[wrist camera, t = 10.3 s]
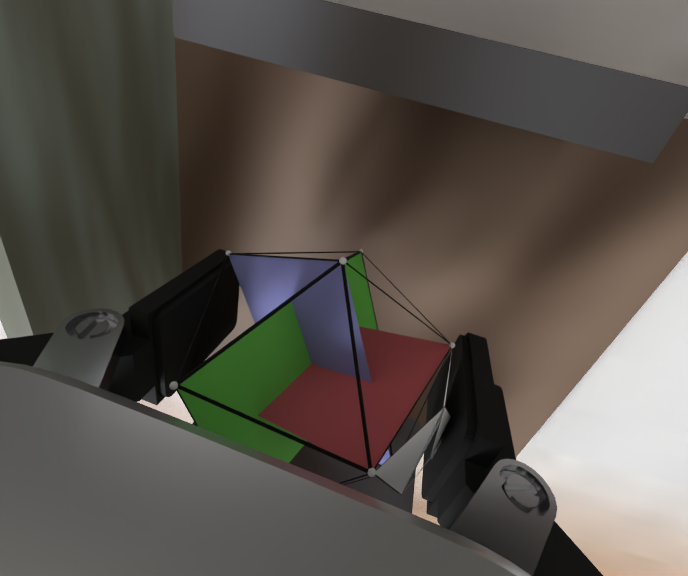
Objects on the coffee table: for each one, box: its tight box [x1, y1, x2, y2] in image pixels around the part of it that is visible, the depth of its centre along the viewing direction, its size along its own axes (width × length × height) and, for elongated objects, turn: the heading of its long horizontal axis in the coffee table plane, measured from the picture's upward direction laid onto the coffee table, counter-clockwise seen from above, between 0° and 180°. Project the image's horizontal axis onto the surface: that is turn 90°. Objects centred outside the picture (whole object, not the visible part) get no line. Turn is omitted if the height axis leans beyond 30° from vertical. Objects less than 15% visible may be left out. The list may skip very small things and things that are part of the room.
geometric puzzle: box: [169, 249, 455, 496], centre depth 10 cm, size 7×7×8 cm
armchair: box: [0, 0, 688, 514], centre depth 12 cm, size 20×16×8 cm
